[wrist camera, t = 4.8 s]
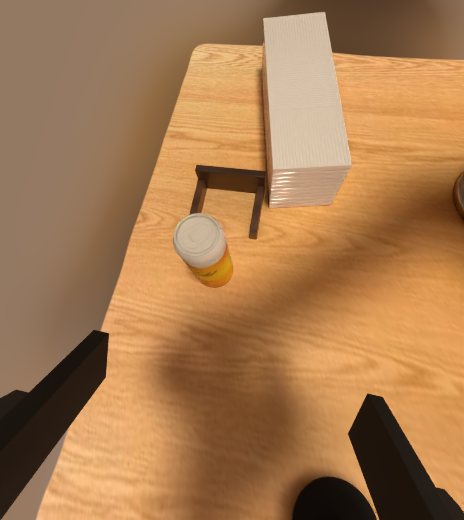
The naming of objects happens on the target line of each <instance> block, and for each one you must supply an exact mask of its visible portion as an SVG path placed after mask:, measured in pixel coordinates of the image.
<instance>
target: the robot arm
mask: <svg viewBox="0 0 464 520" xmlns="http://www.w3.org/2000/svg"><path fill="white" fill-rule="evenodd" d="M453 197H454V203H455V206H456V208H457V210H458V212H459V214H460V215H461V217H462V218H463V219H464V172H463V173H462V174H461V175H460V177H459V178H458V179H457V181H456V183H455V186H454V191H453ZM108 340H109V333H105V332H101V331H96V330H93V331H92V332H91V333H90V334H89V335H88V336H87V337H86V338H85V339H84V340H83V341H82V342H81V343H80V344H79V345H78V346H77V347H76V348H75V349H74V350H73V351H72V352H71V353H70V354H69V355H68V356H66V358H64V359H63V360H62V361H61V362H60V363H59V364H58V365H57V366H56V367H55V368H54V369H53V370H52V371H51V372H50V373H49V374H48V375H47V376H46V377H45V378H44V379H43V380H42V381H41V382H39V384H37V385H36V386H35V387H34V388H33V389H32V390H31V391H30V392H29V393H27V392H24V391H19V390H15V391H13V392H11V393H9V394H8V395H6V396H4V397H2V398H0V520H1V519H2V517H3V516H4V515H5V513H6V512H7V510H8V509H9V508H10V506H11V505H12V504H13V502H14V501H15V500H16V498H17V497H18V496H19V494H20V493H21V491H22V490H23V489H24V487H25V486H26V485H27V483H28V482H29V481H30V479H31V478H32V477H33V475H34V474H35V472H36V471H37V470H38V468H39V467H40V466H41V464H42V463H43V462H44V460H45V459H46V457H47V456H48V455H49V453H50V452H51V451H52V449H53V448H54V446H55V445H56V444H57V443H58V441H59V440H60V438H61V437H62V436H63V434H64V433H65V432H66V430H67V429H68V428H69V426H70V425H71V424H72V422H73V421H74V419H75V418H76V417H77V415H78V414H79V413H80V411H81V410H82V409H83V407H84V406H85V405H86V403H87V402H88V400H89V399H90V398H91V396H92V395H93V394H94V392H95V391H96V390H97V388H98V387H99V385H100V384H101V383H102V381H103V380H104V379H105V377H106V366H107V353H108ZM348 435H349V438H350V441H351V443H352V446H353V449H354V451H355V454H356V457H357V460H358V462H359V465H360V468H361V470H362V473H363V476H364V479H365V481H366V484H367V487H368V489H369V492H370V495H371V498H372V500H373V503H374V506H375V508H376V511H377V514H378V517H379V519H380V520H464V512H463V511H462V509H461V508H460V506H459V505H458V504H457V503H456V502H455V501H454V500H453V498H452V497H451V496H450V495H449V494H448V493H447V492H446V491H445V490H444V489H440V488H436V487H435V485H434V484H433V482H432V480H431V479H430V477H429V475H428V473H427V472H426V470H425V468H424V467H423V465H422V463H421V461H420V460H419V458H418V456H417V455H416V453H415V451H414V450H413V448H412V446H411V444H410V443H409V441H408V439H407V438H406V436H405V434H404V433H403V431H402V429H401V427H400V426H399V424H398V422H397V421H396V419H395V417H394V415H393V414H392V412H391V410H390V409H389V407H388V405H387V404H386V402H385V400H384V398H383V397H380V396H376V395H372V394H367V396H366V398H365V400H364V402H363V404H362V406H361V408H360V410H359V412H358V414H357V416H356V418H355V420H354V422H353V424H352V427H351V429H350V431H349V433H348Z"/></svg>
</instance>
